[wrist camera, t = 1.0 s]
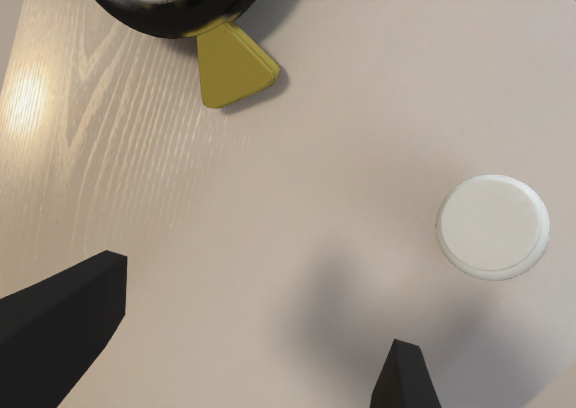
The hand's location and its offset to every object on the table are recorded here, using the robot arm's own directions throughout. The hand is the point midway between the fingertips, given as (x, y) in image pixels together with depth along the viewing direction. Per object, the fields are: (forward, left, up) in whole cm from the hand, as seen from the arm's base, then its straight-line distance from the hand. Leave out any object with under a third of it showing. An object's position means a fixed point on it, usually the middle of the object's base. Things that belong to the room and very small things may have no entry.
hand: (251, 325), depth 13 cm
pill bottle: (-1, -6, -16) cm, 17 cm away
